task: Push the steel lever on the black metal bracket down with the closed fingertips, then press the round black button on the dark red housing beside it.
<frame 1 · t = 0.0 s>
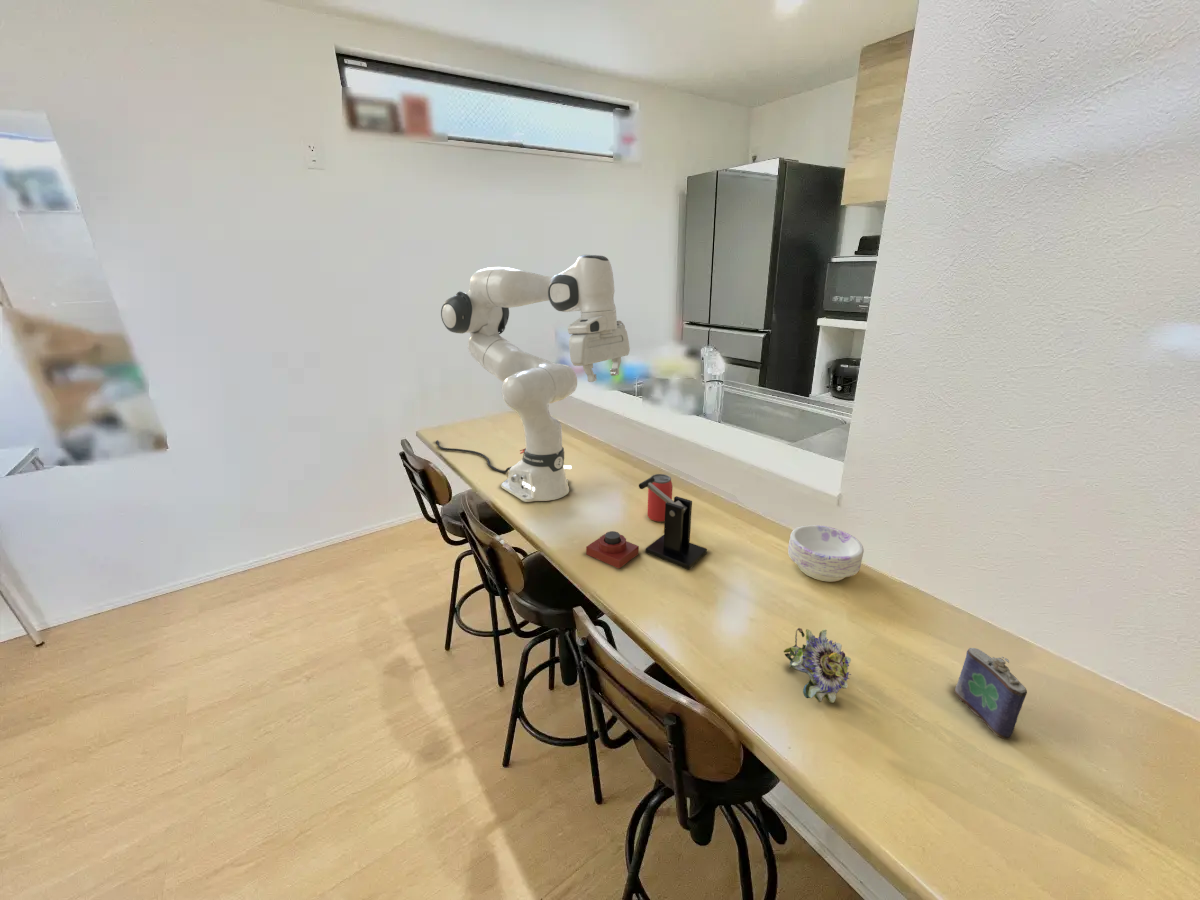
hand: (603, 378, 127), 39 cm above the breakfast bar, tool pointing down, fingers open, 8 cm apart
button: (612, 538, 119), point 4 cm above the breakfast bar, slide at 0.1 cm
passion flower: (809, 682, 83), on the breakfast bar
beer can: (659, 517, 138), on the breakfast bar
flask: (981, 714, 77), on the breakfast bar
paper bowls: (820, 570, 113), on the breakfast bar
lever: (663, 496, 118), point 14 cm above the breakfast bar, hinge at 25.0°
bracket: (676, 552, 120), on the breakfast bar
button box: (612, 554, 120), on the breakfast bar
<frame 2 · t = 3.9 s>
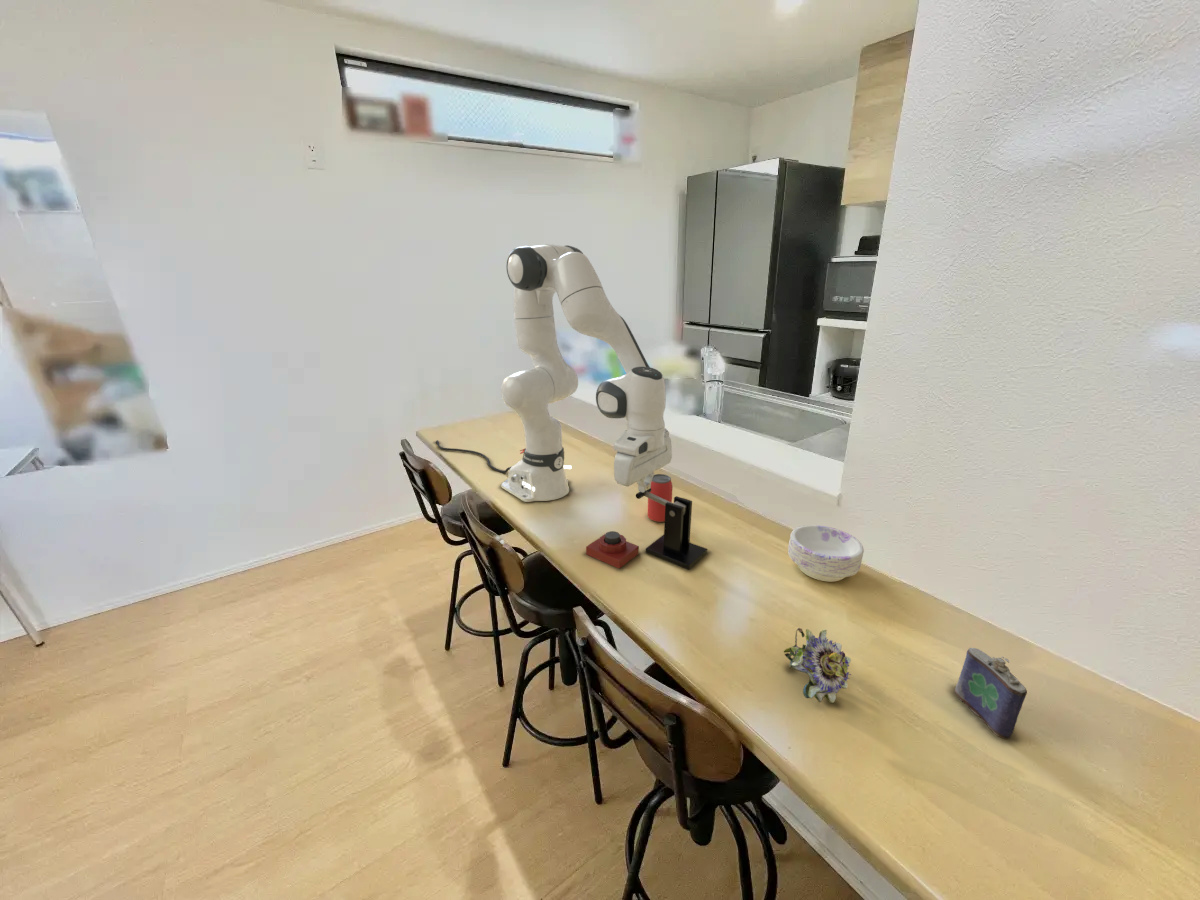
hand: (644, 490, 121), 14 cm above the breakfast bar, tool pointing down, fingers closed, pressing on lever
lever: (661, 501, 119), point 13 cm above the breakfast bar, hinge at 7.9°, touching gripper
everything else where it was.
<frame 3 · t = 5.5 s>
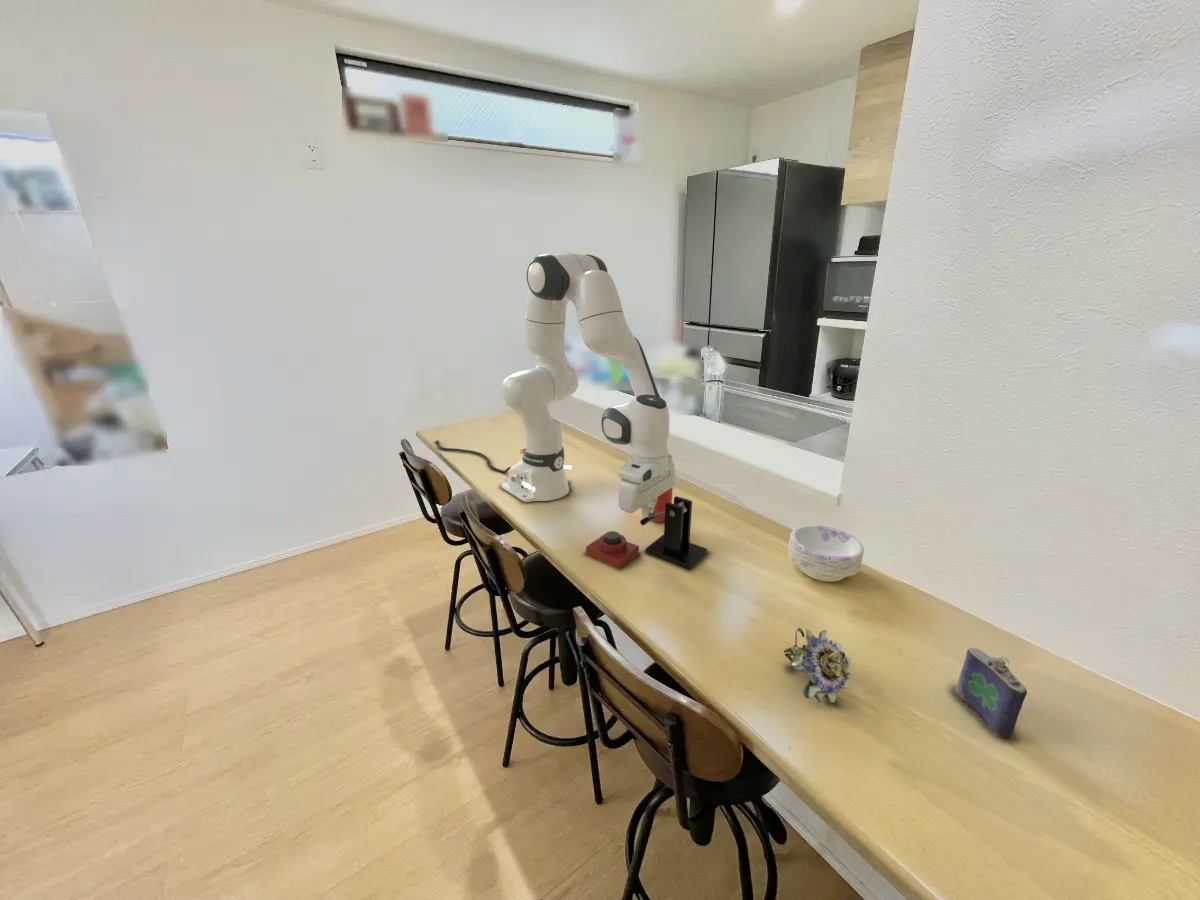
hand: (647, 514, 123), 8 cm above the breakfast bar, tool pointing down, fingers closed, pressing on lever
lever: (663, 513, 119), point 9 cm above the breakfast bar, hinge at -32.6°, touching gripper
everything else where it was.
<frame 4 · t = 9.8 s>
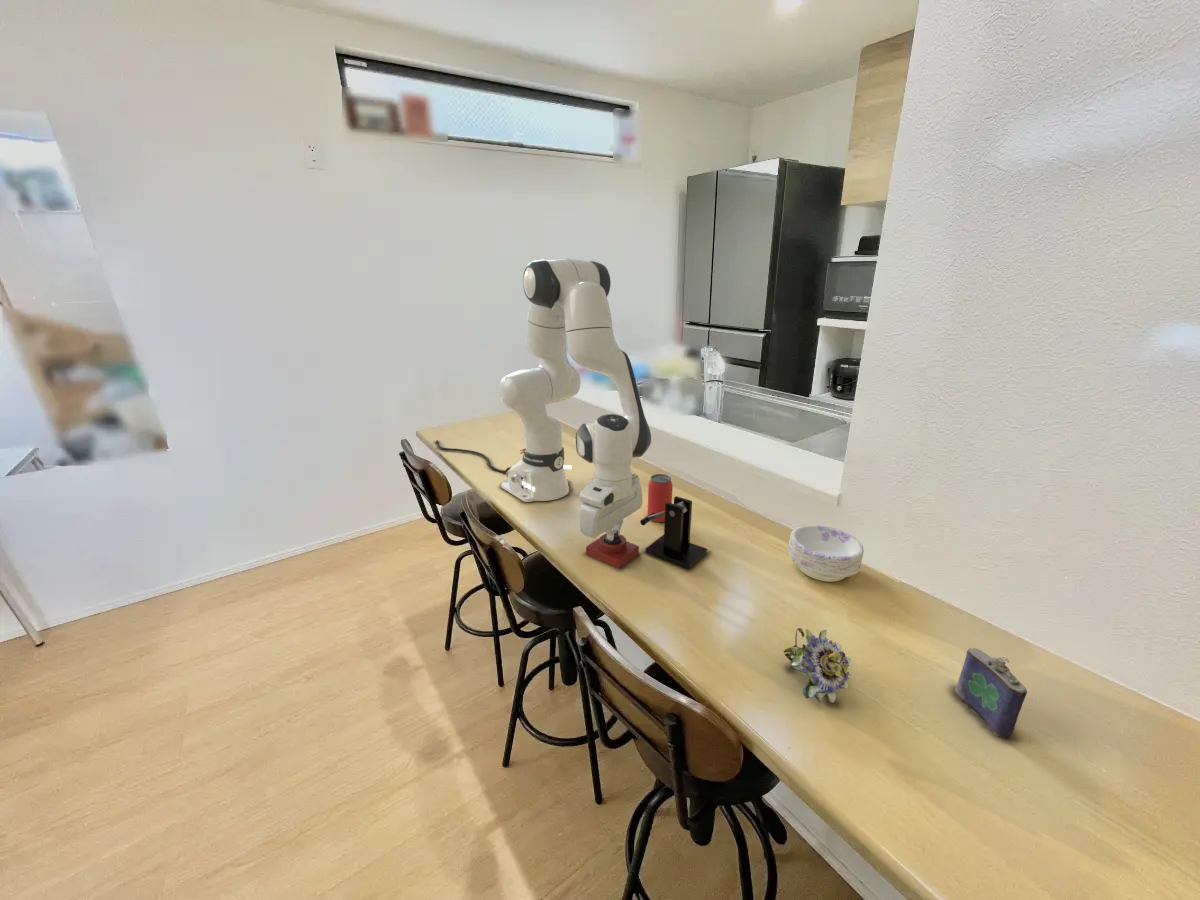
hand: (613, 537, 118), 5 cm above the breakfast bar, tool pointing down, fingers closed, pressing on button
button: (612, 540, 119), point 4 cm above the breakfast bar, slide at -0.7 cm, touching gripper
lever: (663, 513, 119), point 9 cm above the breakfast bar, hinge at -32.7°
everything else where it was.
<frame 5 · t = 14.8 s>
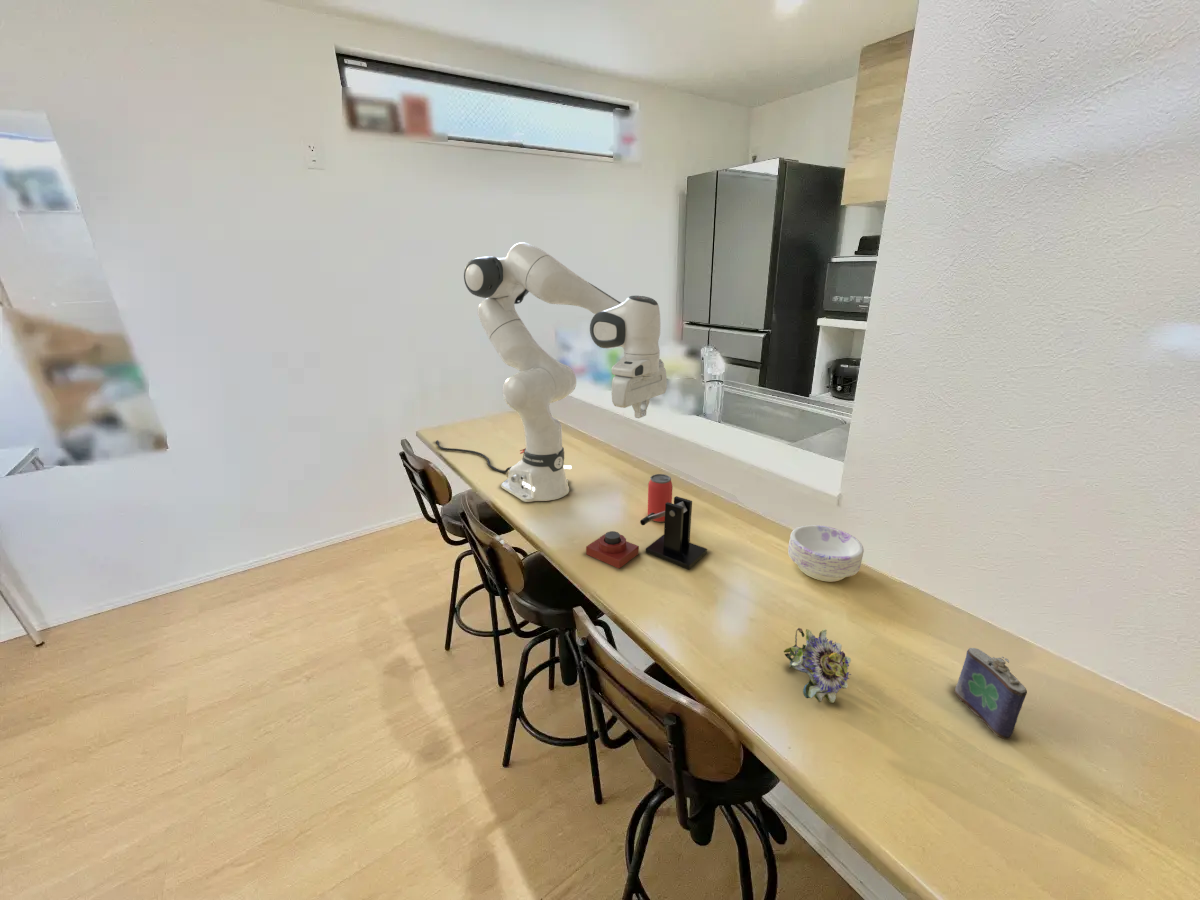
hand: (640, 416, 128), 29 cm above the breakfast bar, tool pointing down, fingers closed
button: (612, 538, 119), point 4 cm above the breakfast bar, slide at 0.1 cm
everything else where it was.
at the end: lever at -33° (first picture: +25°); button pushed in 1.1 cm at the most during the clip, back to where it started at the end; button slide at 0.1 cm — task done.
